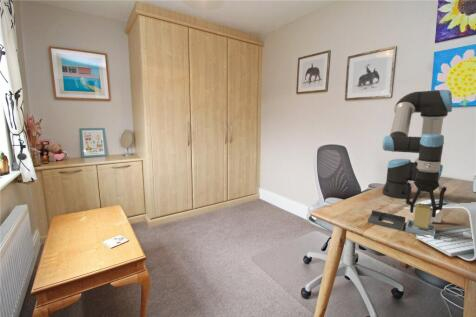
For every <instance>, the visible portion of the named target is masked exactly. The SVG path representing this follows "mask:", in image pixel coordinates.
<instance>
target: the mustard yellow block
mask: <svg viewBox="0 0 476 317" xmlns="http://www.w3.org/2000/svg"><path fill="white" fill-rule="evenodd" d="M415 205H416V208H415V216H414V224H413V226H416V227H420V228H425V229H428V224H429V217H430V209H431V208H432V205H429V204H425V203H421V202H419V203H415Z"/></svg>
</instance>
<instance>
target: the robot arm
mask: <svg viewBox="0 0 476 317" xmlns="http://www.w3.org/2000/svg"><path fill="white" fill-rule="evenodd" d="M452 95H453V94H452V91H451V90H448V89H435V90H425V91H413V92H409V93H407V94H406V95H404V96H402V97H401V98H400V99H399V100H398V101H397V102H396V104H395V106H394V111H393V112H394V117H393V122H392V125H391V129H390V131H389V132H390V133H389V135H384V136H383V139H382V150H383V151H385V152H386V151H387V152H392V153H394V152H395V153H397V152H398V153H413V154H418V157H416V159H415V160H414V162H413V161H411V159H408V158H395V159H390V160H389V161H388V163H387V172H386V181H385V183H384V185H383V187H382V190H381V193H382V194H383V196H387V197H390V198H391V197H392V198H394V199H395V198H396V199H406V200H405V204H406V205H409V213H410V214H411V213H413V214H412V219H411V220H412V221H414V216H415V208H416V202H417V200H418V198H419V197H420V194H421V193H422V192H426V193H428V194H429V199H430V202H431V209H430V217H429V225H432V223H431V218H432V217H435V215H436V211H437V210H442V209H443V207H444V206H443V205H444V198H445V197H444V196H445V192H446V191H447V186H443V185H441V184H440V183H439V182H440V178H441V176H442V172H443V169H444V165H443V164H442V156H443V149H444V144H445V136H444V135H443V134H442V130H443V129H442V128H443V123H444V118H446V117H447V116H448V115H449V114H448V113H451V112H452V111H453V99H452V98H453V96H452ZM414 113H418V114H419V113H420V117H421V119H423V120H422V128H421V135H420V136H409V132H410V126H411V120H412V115H413V114H414ZM414 185H415V186H416V188H417V190H416V192H415V194H414V197H412V198H413V199H412V201H411V194H412V187H414ZM437 189H438V190H439V199H438V205H436V198H435V194H434V191H435V190H437ZM442 211H443V210H442Z"/></svg>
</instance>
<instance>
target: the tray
mask: <svg viewBox="0 0 476 317" xmlns="http://www.w3.org/2000/svg"><path fill="white" fill-rule="evenodd" d="M413 224H414V221H412V219H407V221H406V224H405V232H406V233H410V234H412V235H417V234H425V235H431V236H435V237H436V225H435V224H431V225H429V224H428V229H425V228H420V227H416V226H413ZM432 229H433V233H431V232H427V231H428V230H432Z"/></svg>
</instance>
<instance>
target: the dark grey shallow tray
mask: <svg viewBox="0 0 476 317" xmlns="http://www.w3.org/2000/svg"><path fill="white" fill-rule="evenodd" d="M386 221H388V222H386ZM392 222H393V223H392ZM367 223H369V224H373V225H377V226H381V227H385V228H389V229H393V230H397V231H400V232H403V231H404V228H405V225H406V224H405V223H406V217H405V216H402V215H396V214H393V213H388V212H383V211H378V210H374V209H372V210H371V214H370V216H369V217H368V219H367Z"/></svg>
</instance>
